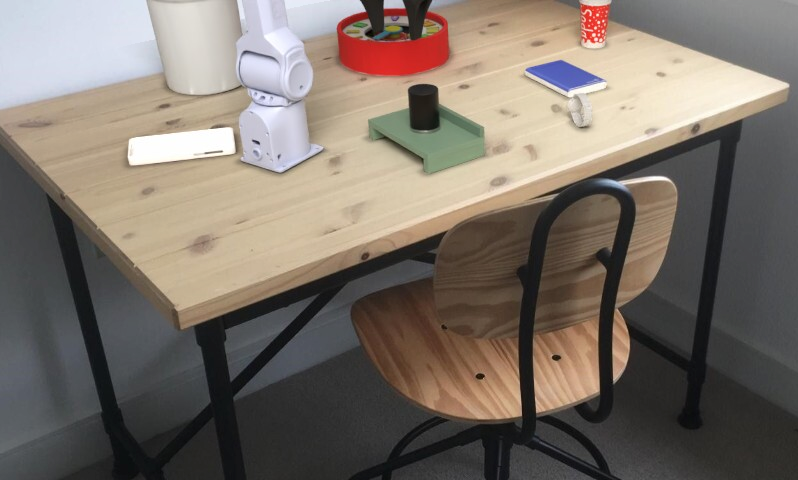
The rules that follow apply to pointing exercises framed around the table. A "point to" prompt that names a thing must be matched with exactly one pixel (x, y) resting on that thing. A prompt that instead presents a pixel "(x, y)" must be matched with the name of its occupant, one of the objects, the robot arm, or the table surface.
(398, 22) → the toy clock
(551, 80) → the hard drive
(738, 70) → the table surface
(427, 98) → the cylinder
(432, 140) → the shelf
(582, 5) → the beverage cup
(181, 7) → the utensil holder
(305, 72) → the robot arm
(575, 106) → the wristwatch
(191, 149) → the phone case
